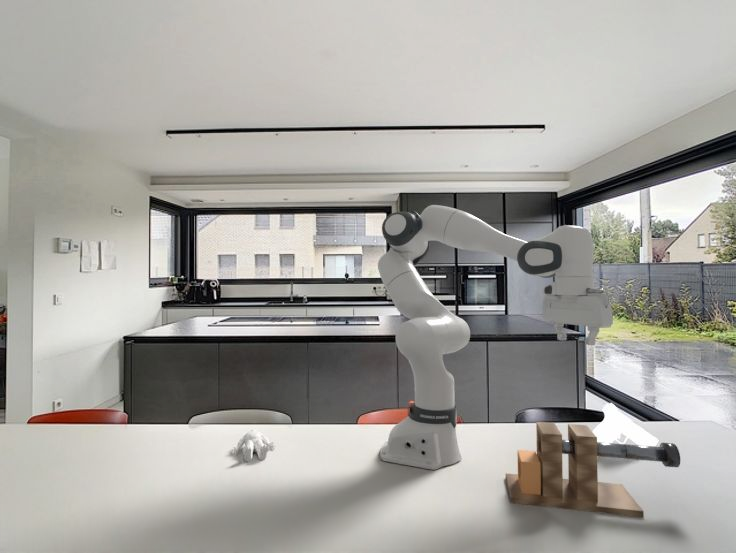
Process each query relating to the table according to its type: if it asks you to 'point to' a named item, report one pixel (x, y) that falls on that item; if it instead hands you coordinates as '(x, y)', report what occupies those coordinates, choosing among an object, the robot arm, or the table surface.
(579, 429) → the threaded rod press
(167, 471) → the table surface
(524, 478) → the block
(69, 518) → the table surface
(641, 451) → the shaft
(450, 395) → the robot arm
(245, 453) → the toy creature
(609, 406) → the handgun
